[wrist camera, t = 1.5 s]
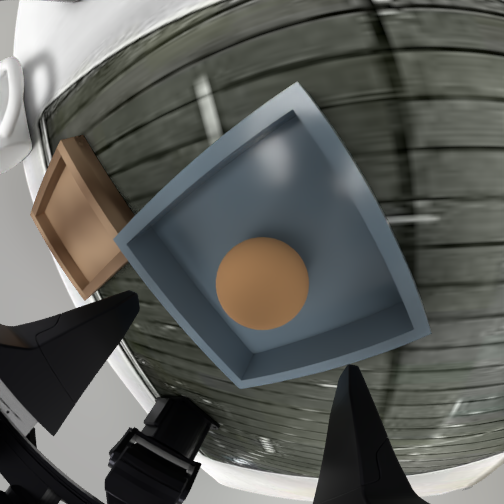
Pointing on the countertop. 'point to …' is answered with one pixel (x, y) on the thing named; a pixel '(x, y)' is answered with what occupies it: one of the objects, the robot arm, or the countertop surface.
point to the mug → (12, 115)
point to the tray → (81, 216)
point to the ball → (262, 283)
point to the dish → (288, 231)
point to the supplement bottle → (60, 0)
